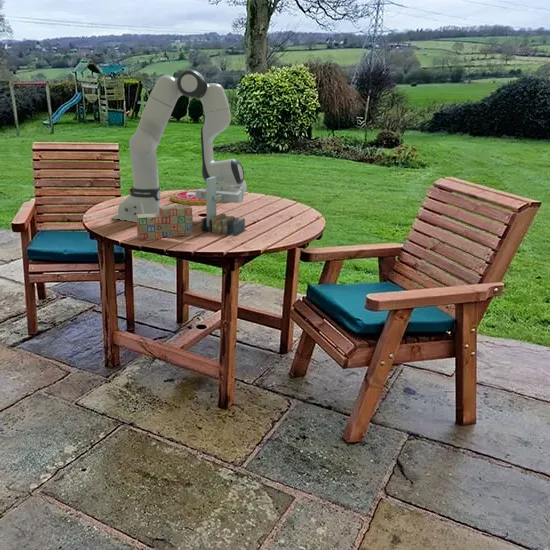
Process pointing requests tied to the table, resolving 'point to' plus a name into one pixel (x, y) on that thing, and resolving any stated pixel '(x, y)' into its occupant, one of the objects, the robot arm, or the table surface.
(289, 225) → the table surface
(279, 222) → the table surface
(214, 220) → the offcut
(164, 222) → the stack of blocks
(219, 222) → the offcut
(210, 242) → the table surface
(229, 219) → the offcut
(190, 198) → the decorative sign
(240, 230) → the slot rack
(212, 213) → the tall panel
